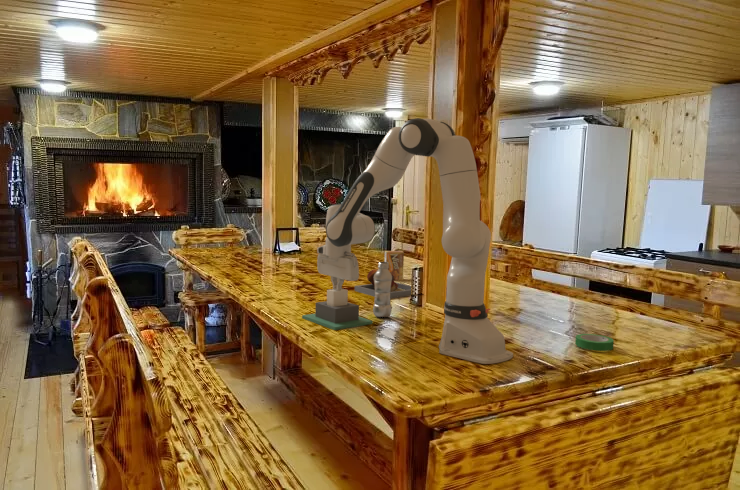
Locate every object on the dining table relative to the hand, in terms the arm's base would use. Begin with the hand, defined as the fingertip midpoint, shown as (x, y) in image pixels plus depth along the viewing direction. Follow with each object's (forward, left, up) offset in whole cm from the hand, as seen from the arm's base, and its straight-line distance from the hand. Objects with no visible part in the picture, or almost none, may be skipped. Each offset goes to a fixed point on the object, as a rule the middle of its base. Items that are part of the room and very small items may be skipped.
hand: (337, 289), depth 202 cm
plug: (0, 0, -9) cm, 9 cm away
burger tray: (+28, -48, -11) cm, 57 cm away
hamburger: (+34, -50, -11) cm, 61 cm away
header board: (0, 0, -11) cm, 11 cm away
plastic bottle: (-4, -17, -11) cm, 21 cm away
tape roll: (-69, -49, -12) cm, 85 cm away
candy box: (+50, -70, -11) cm, 87 cm away
